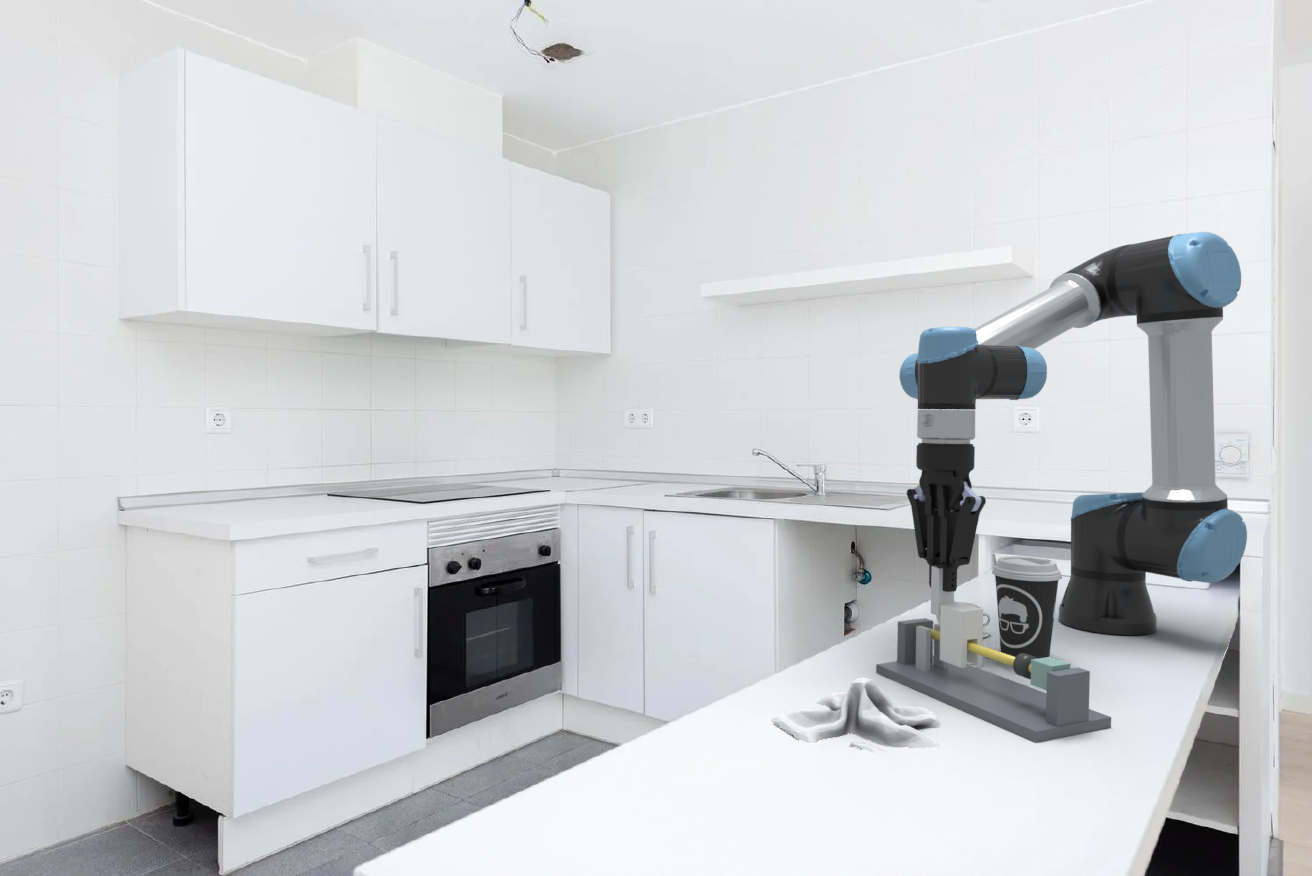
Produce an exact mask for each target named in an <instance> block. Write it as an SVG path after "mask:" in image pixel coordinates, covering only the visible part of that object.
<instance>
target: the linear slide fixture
mask: <svg viewBox="0 0 1312 876" xmlns="http://www.w3.org/2000/svg"><path fill="white" fill-rule="evenodd" d="M933 625H934V630H933ZM896 639H897V640H896V641H897V645H896V646H897V647H896V648H897V649H896V653H897V654H896V661H891V662H882V663H877V664H876V665H875V667H876V668H875V669H876V670H875V673H876V674H879V675H881V676H883V677H885V678H888V679H889V680H892V681H894V682H897V683H899V684H902V685H904V686H906V687H908V688H910V689H913V690H915V691H918V692H919V693H922V694H924V695H926V696H928V697H932V698H933V699H936V700H938V701H940V702H942V703H945V704H947V705H950V706H951V707H954V708H956V709H958V710H961V711H963V712H965V713H968V714H970V715H973V716H975V717H977V718H979V719H982V720H984V721H986V722H988V723H991V724H993V725H995V726H998V727H1000V728H1002V729H1005V730H1006V731H1009V732H1010V733H1014V734H1016V735H1018V736H1020V737H1022V738H1024V739H1027V740H1029V741H1032V742H1034V743H1038V742H1039V743H1040V742H1044V741H1049V740H1054V739H1058V738H1059V739H1060V738H1064V737H1065V738H1066V737H1069V736H1074V735H1080V734H1084V733H1089V732H1094V731H1098V730H1099V731H1100V730H1103V729H1108V728H1112V716H1109V715H1107V714H1104V713H1102V712H1098V711H1096V710H1093V709H1090V682H1091V681H1090V679H1091V675H1090V670H1088V669H1084V668H1081V667H1071V663H1069V662H1067V661H1063V660H1061V659H1058V658H1054V657H1051V656H1049V657H1045V658H1039V659H1038V658H1037V657H1035V656H1031V655H1028V654H1025V653H1020V654H1018V655H1017V656H1016V657H1014V656H1011V655H1008V654H1005V653H1002V652H1001V651H998V650H995V649H992V648H989V647H987V646H984V645H983V646H981V645H978V644H975V643H972V642H969V641H967V651H970V652H973V653H976V654H978V655H981V656H982V657H983V658H984V657H985V658H987V659H991V660H993V661H996V662H999V663H1001V664H1005V665H1007V666H1010V667H1012V668H1013V672H1014V673H1015V675H1017V676H1019V677H1022V678H1025V679H1027V680H1030V685H1031V686H1034V687H1036V688H1039V689H1042V690H1044V691H1041V690H1038V689H1036V688H1033V687H1030V686H1028V685H1025V684H1022V683H1020V682H1017V681H1014V680H1011V679H1009V678H1006V677H1003V676H1001V675H998V674H995V673H992V672H989V671H987V670H984V669H981V668H980V667H979V668H978V667H976V666H974V665H971V664H968V663H967V667H964V668H960V667H958V666H955V665H952V664H950V663H947V662H944V661H942V660H940V624H939V623H936V624H935V623H934V620H932V619H929V618H917V619H916V618H915V619H907V620H898V621H897V638H896ZM1045 691H1046V692H1045Z"/></svg>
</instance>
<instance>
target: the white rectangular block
mask: <svg viewBox="0 0 1312 876" xmlns="http://www.w3.org/2000/svg"><path fill="white" fill-rule="evenodd" d="M981 608H982V607H981ZM981 608H977V607H974V606H970V605H967V604H963V603H957V604H947V605H941V617H940V660H942V661H944V662H947V663H950V664H952V665H955V666H958V667H960V668H964V667H967V664H968V663H969V664H970V665H971V664H972V665H973V666H974V665H975V666H978V667H979V666H982V665H983V656H981V655H978V654H976V653H973V652H970V651H967V641H969V642H972V643H975V644H978V645H981V646H984V638H983V629H984V627H983V624H984V616H983V613H984V609H983V608H982V609H981Z"/></svg>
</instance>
